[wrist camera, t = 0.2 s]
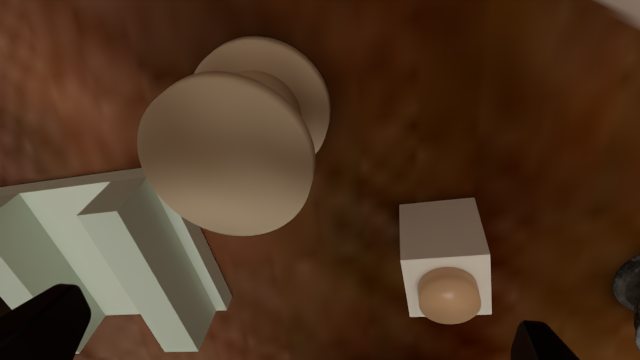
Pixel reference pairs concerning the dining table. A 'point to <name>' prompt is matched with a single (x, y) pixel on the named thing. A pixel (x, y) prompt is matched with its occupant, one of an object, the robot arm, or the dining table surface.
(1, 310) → the bottle
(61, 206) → the notch board
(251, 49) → the bobbin
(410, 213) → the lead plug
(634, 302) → the flange bolt
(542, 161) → the dining table surface
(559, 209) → the dining table surface
